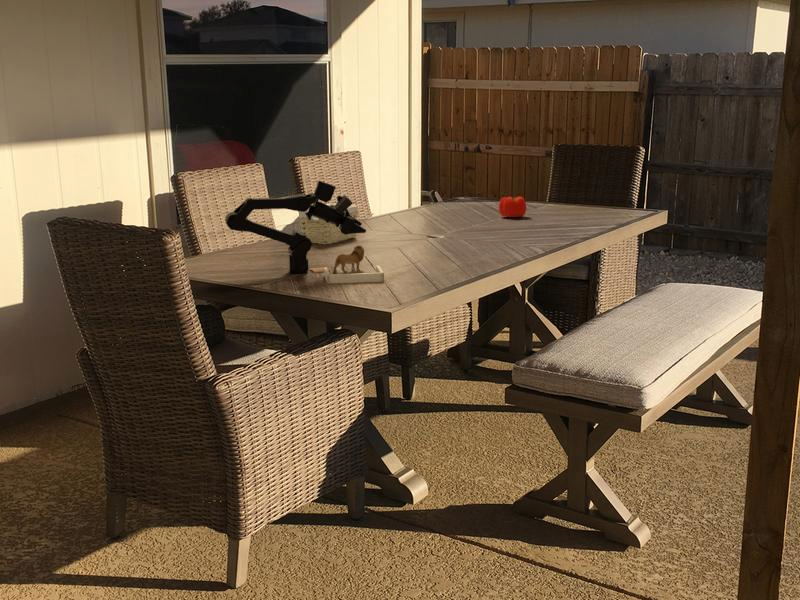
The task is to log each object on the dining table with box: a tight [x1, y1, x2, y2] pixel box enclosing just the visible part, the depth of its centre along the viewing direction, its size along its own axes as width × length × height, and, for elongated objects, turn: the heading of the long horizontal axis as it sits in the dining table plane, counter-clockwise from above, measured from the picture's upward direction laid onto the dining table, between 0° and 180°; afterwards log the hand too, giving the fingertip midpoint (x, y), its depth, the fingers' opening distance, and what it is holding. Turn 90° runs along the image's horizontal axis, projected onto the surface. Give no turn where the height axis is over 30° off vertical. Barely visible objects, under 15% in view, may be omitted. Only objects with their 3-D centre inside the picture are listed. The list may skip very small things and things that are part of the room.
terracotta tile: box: [308, 266, 331, 274], centre depth 358 cm, size 6×6×1 cm
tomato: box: [498, 195, 527, 218], centre depth 485 cm, size 14×13×10 cm
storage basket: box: [298, 202, 359, 245], centre depth 423 cm, size 24×16×15 cm
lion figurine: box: [333, 244, 365, 274], centre depth 356 cm, size 15×5×9 cm, turn 136°
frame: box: [323, 265, 385, 284], centre depth 344 cm, size 20×14×3 cm
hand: (363, 228), depth 359 cm, fingers open, 9 cm apart
